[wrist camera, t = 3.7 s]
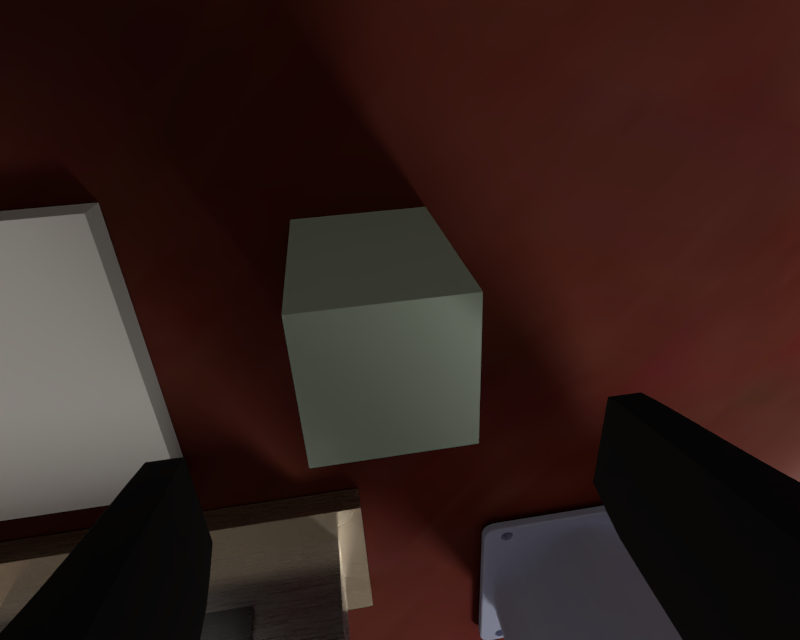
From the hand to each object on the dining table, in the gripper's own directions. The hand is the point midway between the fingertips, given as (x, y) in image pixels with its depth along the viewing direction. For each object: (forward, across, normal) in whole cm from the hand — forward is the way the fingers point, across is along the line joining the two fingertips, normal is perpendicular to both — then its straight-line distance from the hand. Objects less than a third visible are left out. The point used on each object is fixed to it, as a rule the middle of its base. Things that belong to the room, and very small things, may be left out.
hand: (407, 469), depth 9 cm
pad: (+8, +12, +2) cm, 15 cm away
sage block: (+8, 0, 0) cm, 9 cm away
